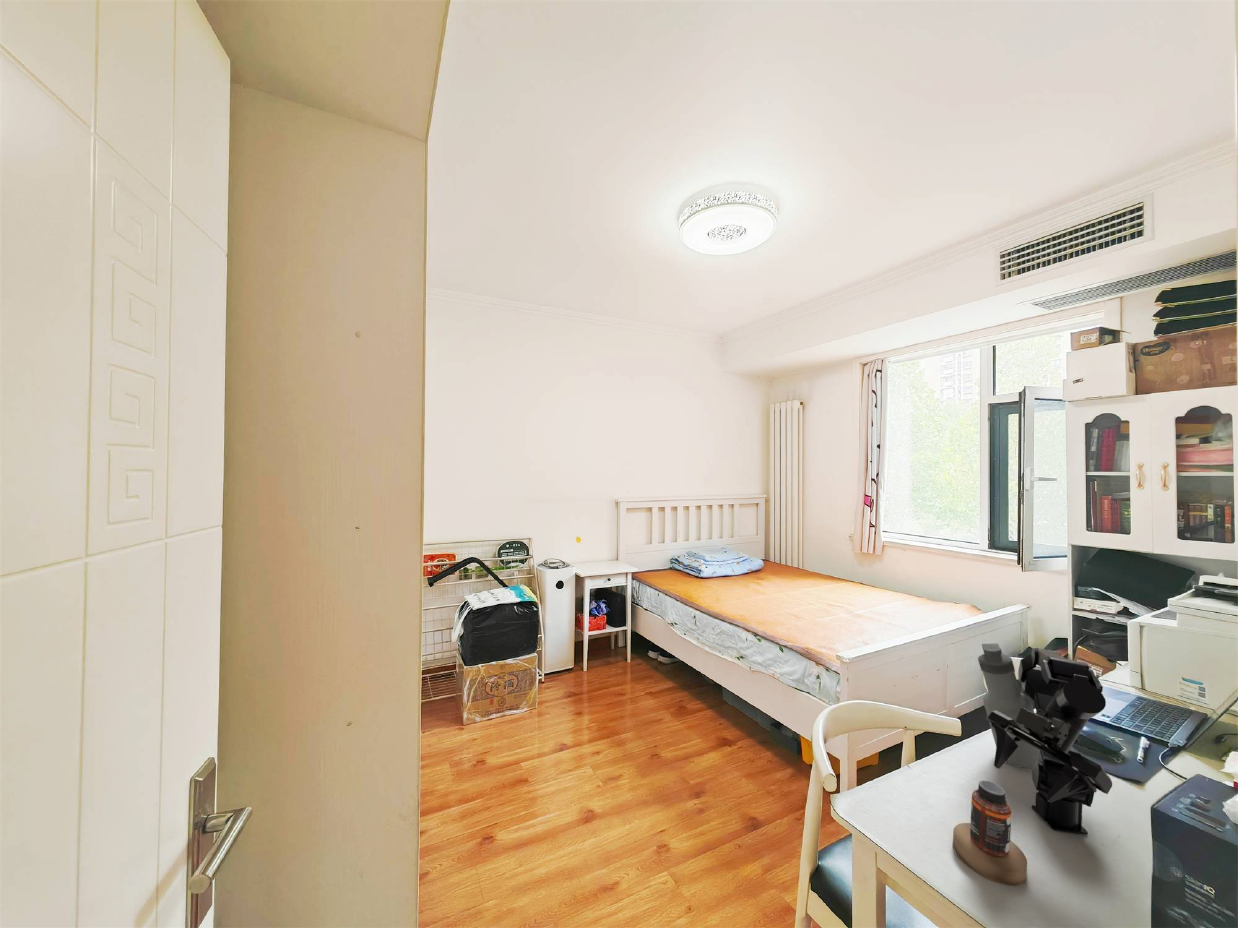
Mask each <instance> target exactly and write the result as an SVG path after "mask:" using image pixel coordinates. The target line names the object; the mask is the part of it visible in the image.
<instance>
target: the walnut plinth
mask: <svg viewBox="0 0 1238 928" xmlns="http://www.w3.org/2000/svg"><path fill="white" fill-rule="evenodd" d="M970 824H971V822H961V823H958V824H956V825H955V826H954V827H953V829H952V831H953V832H952V833H953V834H952V847H953V850H954V852H955V855H957V856H958V858H959V859H960V861H962V862H963V863H964V864H965V865H966V866H967V867H968V868H970V869H971V870H972V871H974V872H975V873H977V874H979V875H980V876H982V877H984V878H985V879H988V880H990V881H992V882H994V883H998V884H1001V885H1006V886H1019V885H1022V884H1024V883H1025V882H1026V880H1027V877H1028V876H1027V875H1028V860H1027V857H1026V855H1025V854H1024V852H1023V851H1022V850H1021V848H1020V847H1019V846H1018V845H1017V844H1016V843H1014V842H1013V841H1012V840H1011V839H1010V850H1009V854H1008V855H1007V856H1004V857H999V856H994V855H991V854H989V853H987V852H985V851H983V850H982V849H980V848H979V847H978V846H977V845H976V844H975V843H974V842H973V841H972V839H971V836H970Z"/></svg>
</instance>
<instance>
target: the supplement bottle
mask: <svg viewBox="0 0 1238 928" xmlns="http://www.w3.org/2000/svg"><path fill="white" fill-rule="evenodd" d="M970 803H971V805H970V806H971V807H970V823H971V824H970V836H971V839H972V841H973V842H974V843H975V844H976V845H977V846H978V847H979V848H980V849H982V850H983V851H985V852H987V853H989V854H991V855H994V856H999V857H1004V856H1007V855H1008V854H1009V850H1010V840H1011V831H1012V830H1011V829H1012V825H1011V824H1012V807H1011V805H1010V803H1009V802H1008V801H1007V799H1006V790H1005V789H1004V788H1003V787H1002V786H1000V785H999V784H997V783H995V782H992V781H990V780H985V779H983V780H980V781H978V788H977V789H975V790H973V791H972V793H971V802H970Z"/></svg>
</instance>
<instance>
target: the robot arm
mask: <svg viewBox="0 0 1238 928" xmlns="http://www.w3.org/2000/svg"><path fill="white" fill-rule="evenodd" d="M1018 665H1019V666H1018V671H1017V672H1018V674H1017V675H1018V678H1017V679H1018V682H1019V683H1021V685H1022V688H1023V692H1024V693H1025V694H1026V695H1027V697H1028V698H1029V699H1030V698H1031V699H1032V700H1033V702H1034V707H1035V711H1034V712H1032V711H1029V710H1027V709H1025V708H1022V707H1020V708H1019V711H1018V714H1017V716H1016V719H1015V721H1014V720H1013V719H1012V718H1010V717H1008V716H1006V715H1004V714H1002V713H1000V712H998V711H997V710H996V711H992V712H990V713H989V714H988V716H987V715H986V718H985V719H986V720H987V721H988V722H990V723H991V727H992V728H993V729H994V730H995V731H996V736H997V746H996V745H995V755H994V762H993V765H994V767H995V768H996V769H997V770H998V769H1000V768H1001V767H1003V766H1004V764H1006V763H1007V762H1006V761H1007V760H1008V758H1009V757H1010V756H1011V755H1012V753H1013V752H1014V751H1015V750H1016V749H1017V747H1018V745H1017V744H1016V743H1015V742H1016V741H1021V740H1023V741H1025V742H1026V743H1028V744H1030V745H1032V746H1033V747H1035V748H1037V749H1039V750H1040V754H1039V759H1038V761H1037V760H1036V762H1035V763H1034V765H1033V767H1032V768H1031V780H1032V782H1033V784H1034V788H1035V790H1036V791H1037V792H1036V793H1035V801H1034V802H1035V803H1034V804H1031V809H1032V810H1033V811H1034V812H1035V813H1036V814H1037V815H1038V816H1039V817H1040V819H1042V820H1043V821H1044V822H1045V823H1046V824H1047V826H1049V827H1050V829H1052V830H1053V831H1056V832H1057V831H1058V832H1064V833H1072V834H1073V833H1074V834H1080V835H1088V834H1089V831H1088V830H1087V829H1086V828H1085V827H1084V826H1083V825H1082V824H1083V823H1082V822H1083V806H1086V807H1088V808H1092V807H1091V806H1092V804H1093V801H1094V797H1095V796H1094V795H1095V793H1097V791H1099V792H1102V793H1104V794H1106V795H1108V794H1109V792H1110V791H1111V789H1112V788H1113V781H1112V778H1111V777H1110V776H1109V774H1108V773H1107V772H1106V771H1105V770H1104V768H1103V767H1102V766H1101V764H1098V763H1097V762H1095V761H1093V760H1091V759H1089V758H1087V757H1086V756H1084V755H1082V754H1081V753H1080V752H1078V751H1073V750H1072V749H1071V748H1072V747H1073V745H1074V743H1075V742H1077V743H1078V744H1079V743H1081V741H1082V738H1081V736H1080V734H1081V732H1082V731H1083V729H1084V728H1085V726H1086V725H1087V723H1088V722H1089V720H1090V719H1092V718H1094V717H1096V716H1097V715H1098V714H1100V713H1101V712H1103V710H1104V709H1105V708H1106V706H1107V705H1106V703H1107V702H1106V698H1105V696H1104V695H1103V688H1104V686H1103V685H1102V683H1101V681H1100V680H1099V678H1098V677H1097V676H1096V674H1095V672H1094V670H1093V669H1091V668H1090V665H1089V664H1088V663H1087V662H1083V661H1081V660H1080V661H1079V660H1073V659H1069V658H1065V657H1064V656H1062V654H1061V653H1059V652H1058V651H1054V650H1050V649H1044V648H1041V647H1040V648H1038V647H1035V648H1032V650H1031V653H1030V654H1029V655H1027V656H1025V657H1023V658H1021V659H1020V661H1019V664H1018ZM1016 722H1017V723H1019V724H1023V725H1024V728H1025V729H1026V730H1028V731H1029V733H1027V732H1026V731H1024V730H1022V729H1021V728H1020V727H1019V726H1018V724H1017V723H1016ZM990 723H989V724H990ZM991 727H990V728H991ZM1034 741H1035V742H1037V743H1038V744H1037V743H1035V742H1034ZM1039 744H1040V745H1039Z"/></svg>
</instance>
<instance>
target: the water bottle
mask: <svg viewBox="0 0 1238 928" xmlns="http://www.w3.org/2000/svg"><path fill="white" fill-rule="evenodd" d="M981 646H982V651H983V654H981V655H979V656H978V657H977V661H978V664H979V668H980V671H981V672H982V674H983V677H984V682H985V685H986V688H987V689H986V690H987V691H986V693H985V694H984V695H983V697H982V699H983V704H984V705H983V706H984V709H985V711H986V717H987V716H988V714H989V713H990V712H992V711H996V710H997V711H998V712H1000V713H1002V714H1004V715H1006V716H1008V717H1010V718H1012V719H1013V720H1014V721H1015V719H1016V716H1017V714H1018V711H1019V708H1020V707H1022V708H1025V709H1027V710H1029V711H1032V712H1034V713H1035V709H1034V707H1033V703H1032V701H1031V699H1030V697H1029V696H1028V695H1027V696H1026V695H1025V694H1024V693H1022V692H1021V691H1020V686H1019V683H1018V680H1017V679H1018V678H1017V677H1016V669H1015V665H1014V662H1013V658H1012V657H1011V656H1009V655H1007V654H1004V653H1003V651H1002V648H1001V647H1000V645H999V643H997V642H995V643H982V644H981ZM988 722H989V721H988ZM1016 723H1017V722H1016ZM988 724H989V727H990V729H991V733H992V737H993V740H994V744H995V747H996V746H997V736H996V731H995V730H994V729H993V728H992V727H991V723H990V722H989V723H988ZM1017 724H1018V726H1019V727H1020V728H1021V729H1022V730H1024V731H1026V732H1027V733H1029V731H1028V730H1026V729H1025V728H1024V725H1023V724H1019V723H1017ZM1034 742H1035V741H1034ZM1015 743H1016V744H1017V745H1018V747H1017V749H1016V750H1015V751H1014V752H1013V753H1012V755H1011V756H1010V757H1009V758H1008V760H1007V761H1006V762H1005V763H1008V764H1010V765H1011V766H1015V767H1019V768H1024V769H1032V767H1033V765H1034V763H1035V762H1036V760H1037V761H1038V759H1039V754H1040V750H1039V749H1037V748H1035V747H1033V746H1032V745H1030V744H1028V743H1026V742H1025V741H1023V740H1021V741H1016V742H1015ZM1035 743H1037V742H1035ZM1037 744H1038V743H1037ZM1039 745H1040V744H1039Z"/></svg>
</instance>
